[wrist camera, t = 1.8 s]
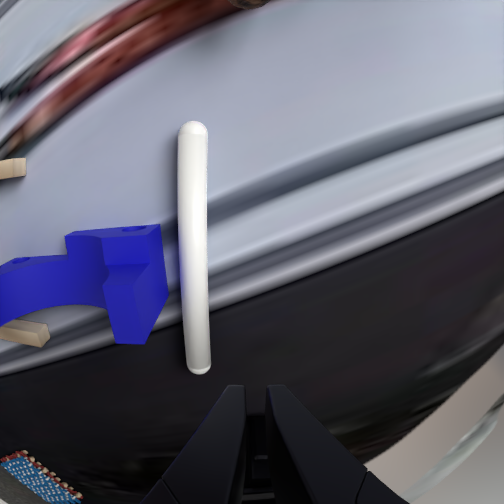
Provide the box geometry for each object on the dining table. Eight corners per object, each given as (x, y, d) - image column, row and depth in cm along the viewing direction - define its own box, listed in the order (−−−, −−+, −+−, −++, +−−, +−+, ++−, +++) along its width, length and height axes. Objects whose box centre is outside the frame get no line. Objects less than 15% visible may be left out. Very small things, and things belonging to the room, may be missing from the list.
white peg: (212, 365, 21) (210, 379, 19) (189, 364, 21) (186, 378, 19) (209, 122, 16) (206, 118, 15) (181, 123, 16) (175, 119, 15)
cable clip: (160, 223, 18) (127, 250, 12) (169, 294, 19) (144, 344, 14) (13, 237, 18) (-41, 261, 12) (25, 294, 19) (-21, 330, 13)
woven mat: (24, 444, 25) (18, 454, 23) (87, 493, 27) (83, 504, 25) (1, 454, 26) (-4, 462, 24) (54, 497, 29) (50, 506, 27)
